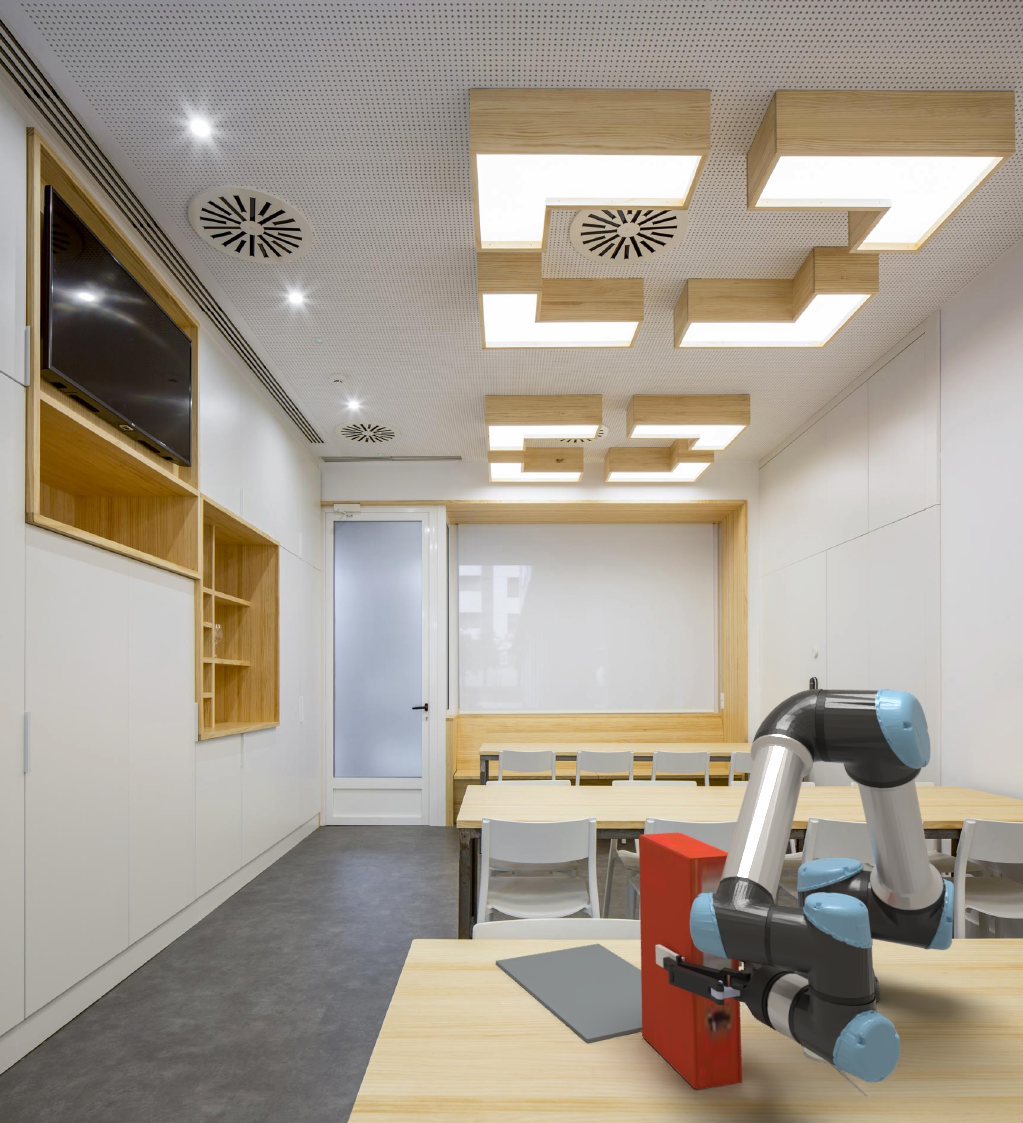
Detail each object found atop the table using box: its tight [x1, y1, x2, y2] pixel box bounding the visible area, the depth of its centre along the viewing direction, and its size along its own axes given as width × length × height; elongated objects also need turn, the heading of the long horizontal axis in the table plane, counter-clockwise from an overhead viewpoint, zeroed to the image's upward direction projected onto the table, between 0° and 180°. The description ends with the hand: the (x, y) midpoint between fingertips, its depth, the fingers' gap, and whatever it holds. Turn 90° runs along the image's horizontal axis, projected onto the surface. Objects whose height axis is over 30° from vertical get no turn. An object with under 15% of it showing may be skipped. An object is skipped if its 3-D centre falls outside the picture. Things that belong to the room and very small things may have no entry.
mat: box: [495, 943, 642, 1044], centre depth 153 cm, size 24×38×1 cm, turn 24°
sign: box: [802, 1047, 868, 1097], centre depth 122 cm, size 5×1×15 cm
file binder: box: [638, 832, 743, 1091], centre depth 127 cm, size 8×17×32 cm, turn 16°
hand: (685, 948), depth 128 cm, fingers open, 10 cm apart
